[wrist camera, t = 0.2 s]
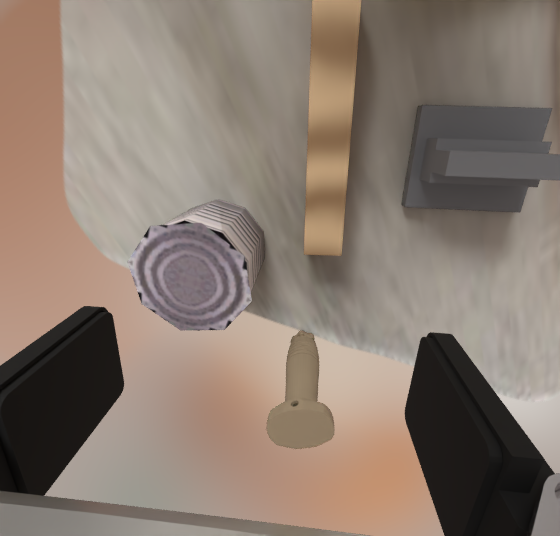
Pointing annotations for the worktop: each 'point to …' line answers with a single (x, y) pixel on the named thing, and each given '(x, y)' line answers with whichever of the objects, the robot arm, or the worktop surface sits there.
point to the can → (199, 266)
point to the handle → (301, 400)
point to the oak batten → (330, 121)
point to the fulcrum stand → (477, 157)
